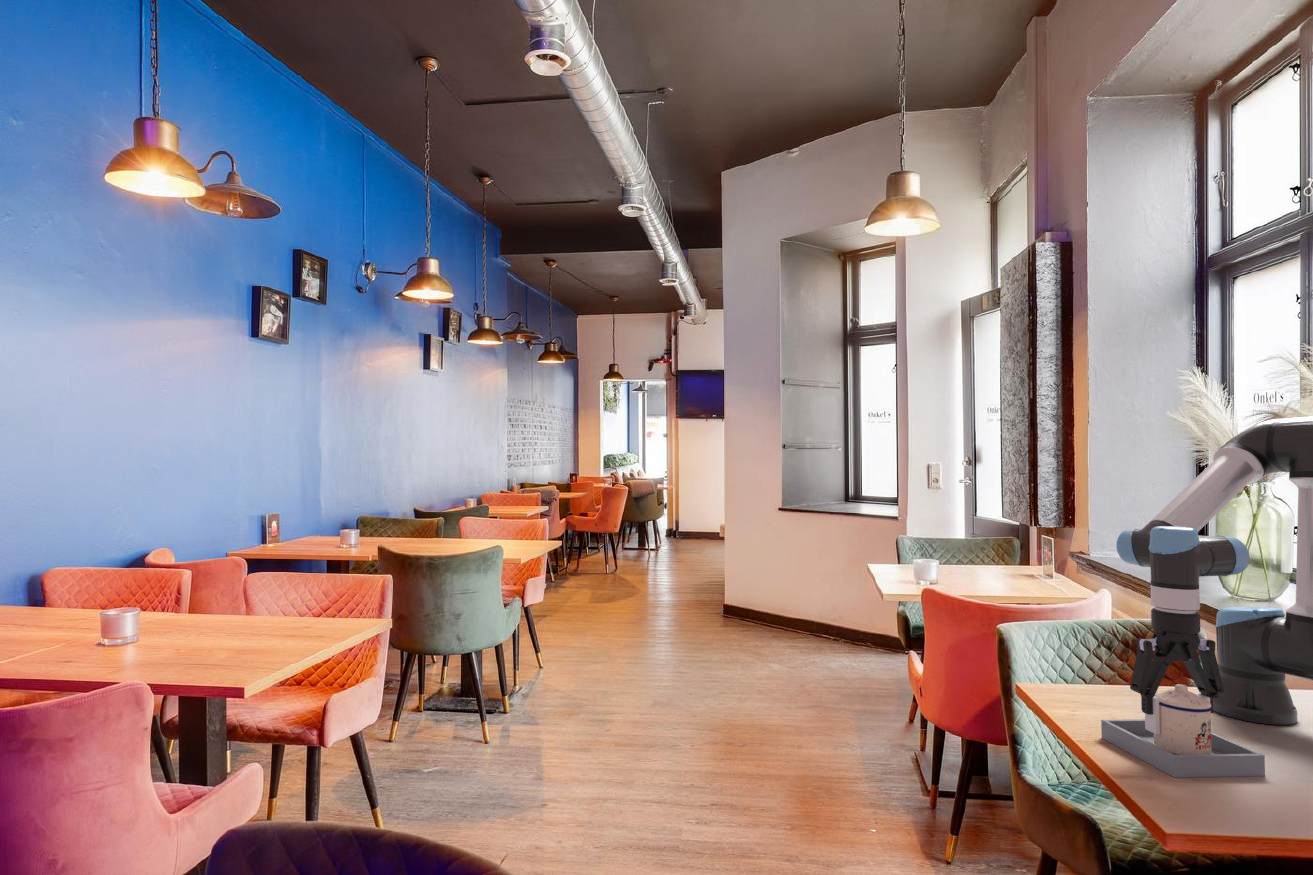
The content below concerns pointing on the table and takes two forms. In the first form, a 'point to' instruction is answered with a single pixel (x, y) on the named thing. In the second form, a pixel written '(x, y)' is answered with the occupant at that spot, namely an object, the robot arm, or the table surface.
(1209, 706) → the teacup with lid
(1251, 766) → the tray
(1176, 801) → the table surface
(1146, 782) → the table surface
